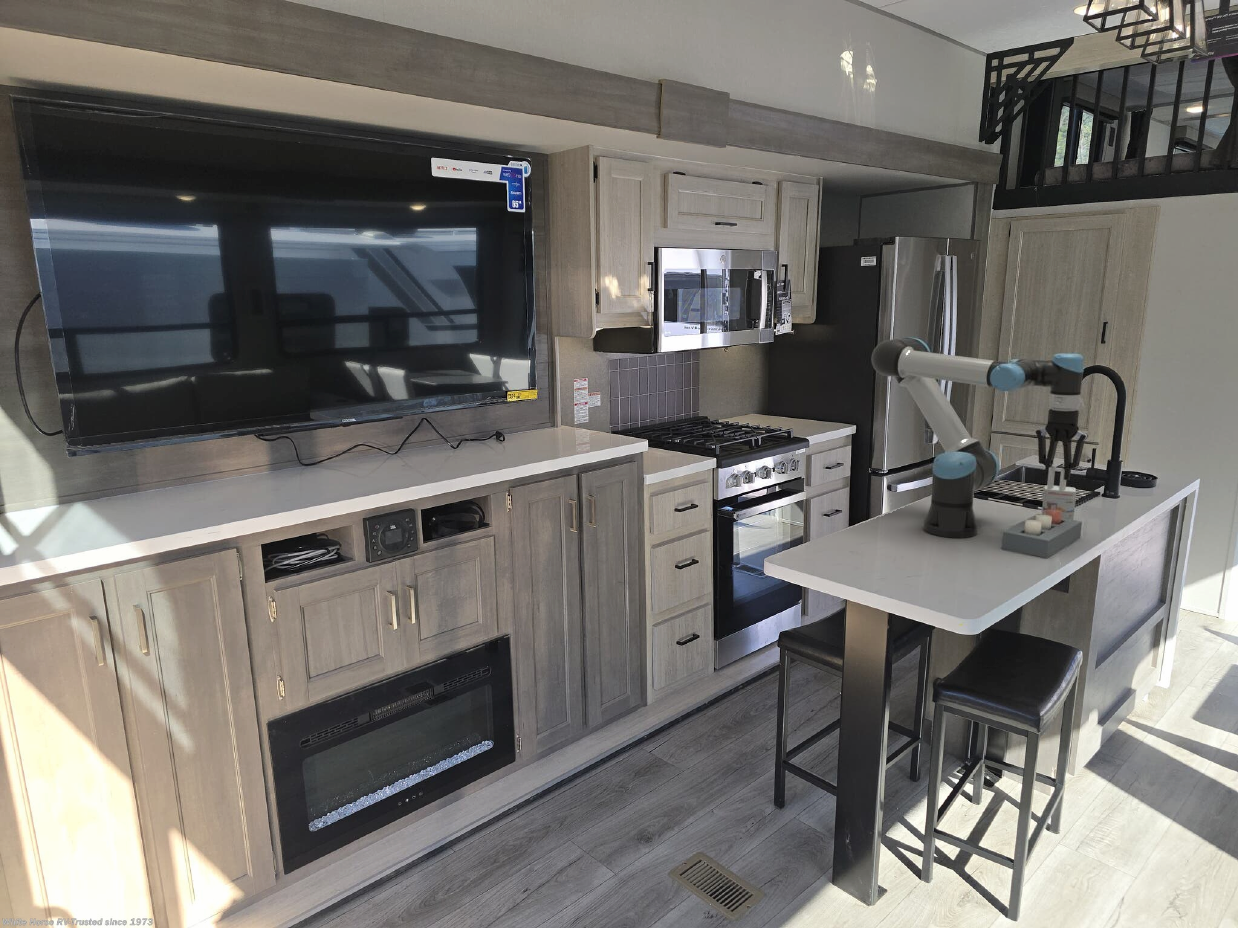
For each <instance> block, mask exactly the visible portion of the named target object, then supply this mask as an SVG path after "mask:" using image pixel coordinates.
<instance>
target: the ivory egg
mask: <svg viewBox="0 0 1238 928" xmlns="http://www.w3.org/2000/svg"><path fill="white" fill-rule="evenodd" d="M1025 520H1026V521H1025ZM1025 520H1024V521H1025V531H1024V533H1026V534H1031V535H1036V536H1039V535H1040V534H1041V523H1042V522H1040V521H1037V520H1027V519H1025Z"/></svg>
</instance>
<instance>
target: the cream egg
mask: <svg viewBox="0 0 1238 928" xmlns="http://www.w3.org/2000/svg"><path fill="white" fill-rule="evenodd" d="M1039 514H1040V515H1037V514H1035V515H1036V520H1037V521H1040V522H1042V523H1041V529H1045V530H1050V529H1051V522H1052V517H1051V516H1049V515H1042V513H1039Z"/></svg>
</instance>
